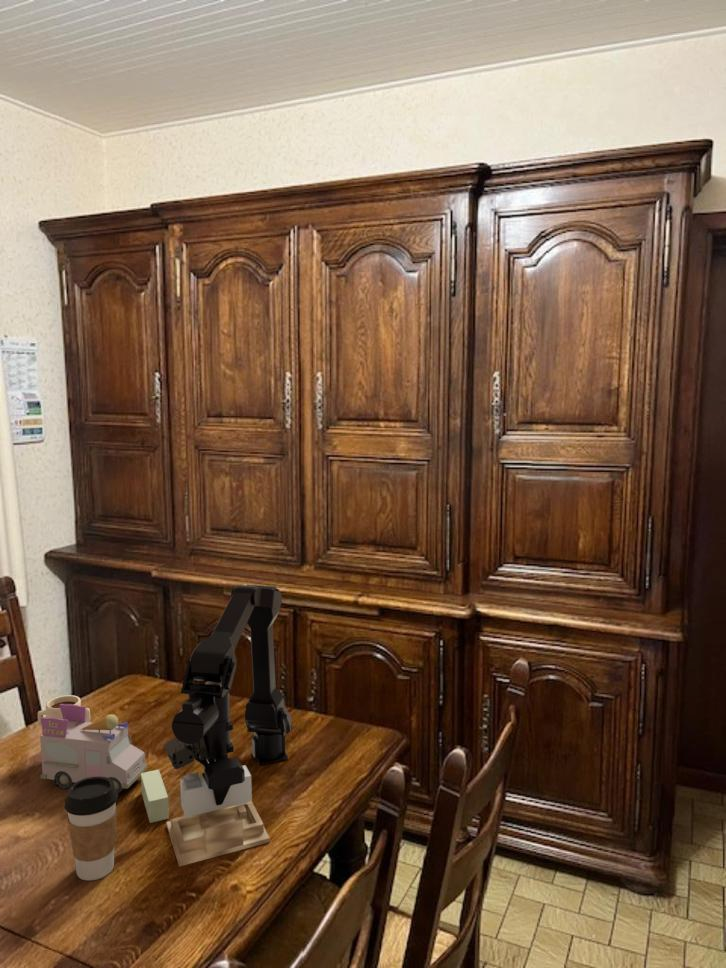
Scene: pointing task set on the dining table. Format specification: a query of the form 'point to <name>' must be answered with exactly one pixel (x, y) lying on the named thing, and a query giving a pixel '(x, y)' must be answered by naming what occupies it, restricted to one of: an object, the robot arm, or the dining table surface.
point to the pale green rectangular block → (154, 796)
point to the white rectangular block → (211, 794)
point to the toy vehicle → (88, 749)
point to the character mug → (54, 707)
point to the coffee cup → (92, 825)
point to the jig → (216, 833)
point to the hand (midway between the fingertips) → (216, 798)
